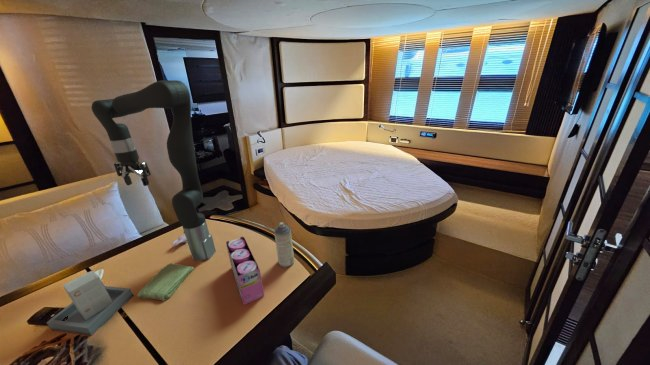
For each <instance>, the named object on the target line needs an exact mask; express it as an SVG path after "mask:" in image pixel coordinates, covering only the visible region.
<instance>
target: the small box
mask: <svg viewBox="0 0 650 365" xmlns="http://www.w3.org/2000/svg"><path fill="white" fill-rule="evenodd" d="M94 272H95V271H93V270H90V271H88V272H86V273H84V274H82V275H80V276H79V277H76V278H74V279H72V280H71V281H69V282H66V283H64V284H62V287H63V288H64V291H65V292H66V294H67V295H68V297H69V298H70V300H71V301H72V302H73V303H74V305H75V306H76V308H77V309H78V311H79V312H80V314H81V315H82V316H83V317H84V319H85V320H87V319H89V318H90V317H92V316H93V315H95V314H97V313H98V312H100V311H101V310H103V309H105V308H106V307H108V306H109V305H110V304H111V303H112V300H111V298H110V296H109V294H108V292H107V291H106V289H105V287H104V286H105V285H104V284H103V282H102V279H101V280H100V278H99V276H98V275H96V274H95V273H94Z"/></svg>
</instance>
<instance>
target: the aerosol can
mask: <svg viewBox="0 0 650 365" xmlns="http://www.w3.org/2000/svg"><path fill="white" fill-rule="evenodd" d="M291 229H292V228H291V227H290V226H289V225H287V224H284V222H282V221H281V222H279V225H278V226H276V227H275V228H274V233H273V235H274V239H275V246H276V253H277V255H276V256H277V260H278V261H277V262H278V265H279V267H281V268H290V267H292V266H293V265H294V263H295V255H294V247H293V239H292V238H293V237H292V230H291Z"/></svg>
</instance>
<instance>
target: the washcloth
mask: <svg viewBox="0 0 650 365" xmlns="http://www.w3.org/2000/svg"><path fill="white" fill-rule="evenodd" d="M193 270H194V267H193V266H190V265H184V264H180V263H177V264H176V263H175V264H174V263H171V262H170V263H168V264H166V266H164V267H162V268H161V269H160V270H159V272H157V274H156V275H154V276H153V277H152V279H150V280H149V281H148V282H147V283H146V284H145V285H144V286H143V287H142V288H141V289H140V291H139V292H138V293H137V298H139V299H148V300H151V299H155V300H157V301H159V300H160V301H163V302H164V301H166V300H168V299H169V298H170V297H172V295H173V294H174V293H175V292H176V291H177V289H178V288H179V287H180V285H182V283H183V282H184V280H185V279H187V277H188V276H189V274H190V273H191V272H192V271H193Z"/></svg>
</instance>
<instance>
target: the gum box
mask: <svg viewBox="0 0 650 365" xmlns="http://www.w3.org/2000/svg"><path fill="white" fill-rule="evenodd" d="M225 244H226V249H227V253H228V258H229V263H230V266H231V269H232V272H233V276H234V280H235V283H236V285H237V289H238V292H239V294H240V298H241V302H242V305H244V306H245V305H247V304H249V303H252V302H254V301H256V300H258V299H261V298H263V297H265V293H264V292H265V291H264V287H263V281H262V276H261V274H262V273H261V269H260V267H259V266H260V265H259V264H258V263H257V261H256V258H255V257H254V255H253V253H252V250H251V249H250V247H249V244H248V242H247V240H246V238H245V237H244V236H240V237H239V238H235V239H233V240H231V241H229V240H227V241H225Z"/></svg>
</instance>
